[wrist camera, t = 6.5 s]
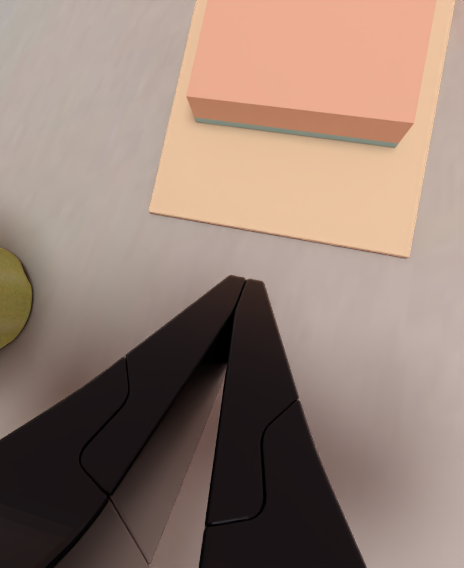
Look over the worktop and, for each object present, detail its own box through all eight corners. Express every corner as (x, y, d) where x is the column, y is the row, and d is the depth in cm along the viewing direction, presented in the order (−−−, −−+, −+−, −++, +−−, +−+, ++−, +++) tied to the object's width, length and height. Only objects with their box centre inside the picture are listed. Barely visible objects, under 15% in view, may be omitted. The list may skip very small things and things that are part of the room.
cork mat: (406, 258, 15) (409, 257, 15) (150, 213, 17) (148, 211, 16) (461, -52, 16) (465, -59, 15) (213, -63, 18) (212, -69, 17)
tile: (414, 123, 13) (454, -96, 14) (185, 96, 14) (230, -102, 15) (394, 148, 15) (430, -44, 16) (196, 122, 16) (235, -53, 17)
